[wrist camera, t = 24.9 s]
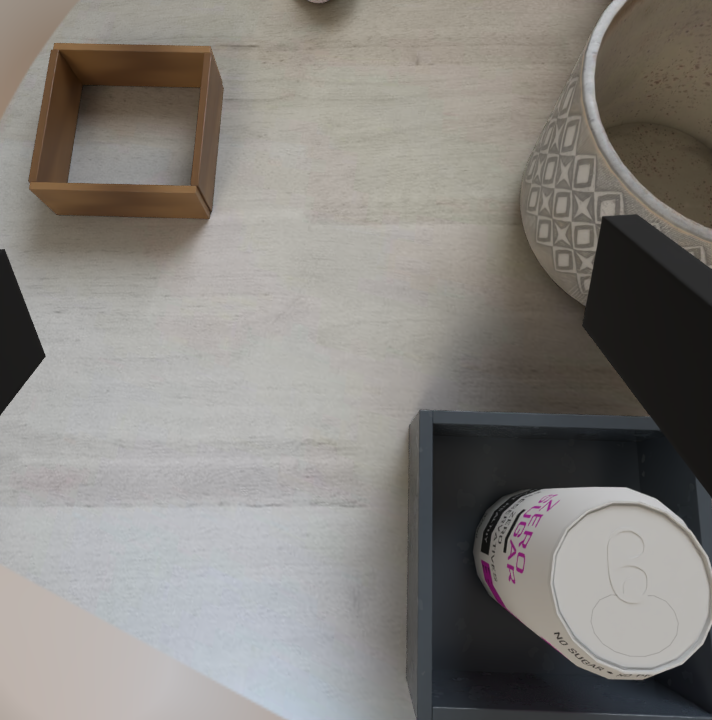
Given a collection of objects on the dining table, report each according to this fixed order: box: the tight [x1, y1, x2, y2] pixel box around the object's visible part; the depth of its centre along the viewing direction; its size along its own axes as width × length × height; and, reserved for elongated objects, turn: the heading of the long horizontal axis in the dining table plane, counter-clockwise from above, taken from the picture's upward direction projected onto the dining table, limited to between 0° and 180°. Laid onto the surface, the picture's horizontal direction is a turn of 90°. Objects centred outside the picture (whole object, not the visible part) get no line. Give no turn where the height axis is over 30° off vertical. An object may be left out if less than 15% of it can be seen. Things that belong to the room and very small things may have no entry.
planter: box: [520, 0, 712, 306], centre depth 39 cm, size 19×19×14 cm
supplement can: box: [473, 487, 712, 680], centre depth 32 cm, size 8×8×15 cm
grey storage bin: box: [406, 410, 712, 720], centre depth 36 cm, size 17×17×8 cm
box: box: [28, 43, 224, 219], centre depth 45 cm, size 12×12×4 cm
